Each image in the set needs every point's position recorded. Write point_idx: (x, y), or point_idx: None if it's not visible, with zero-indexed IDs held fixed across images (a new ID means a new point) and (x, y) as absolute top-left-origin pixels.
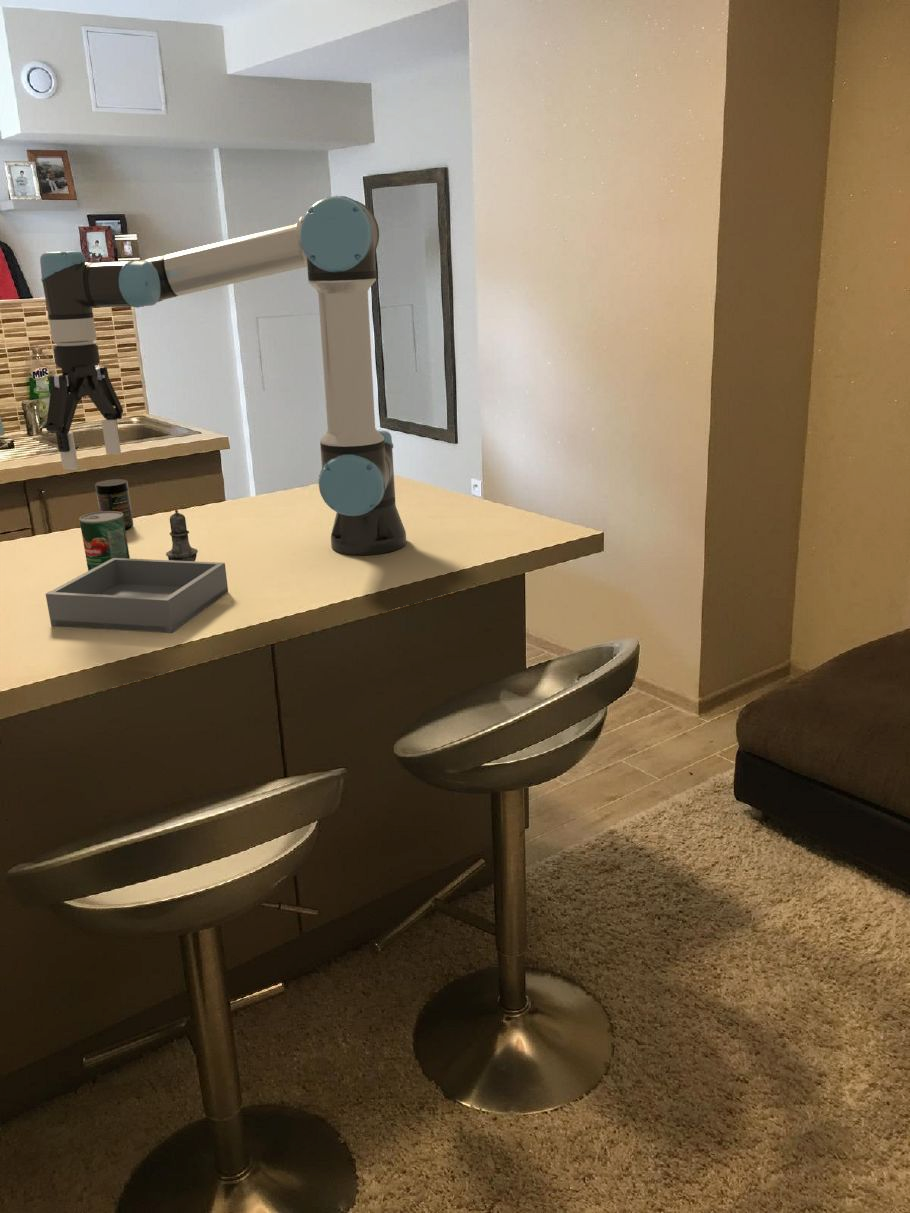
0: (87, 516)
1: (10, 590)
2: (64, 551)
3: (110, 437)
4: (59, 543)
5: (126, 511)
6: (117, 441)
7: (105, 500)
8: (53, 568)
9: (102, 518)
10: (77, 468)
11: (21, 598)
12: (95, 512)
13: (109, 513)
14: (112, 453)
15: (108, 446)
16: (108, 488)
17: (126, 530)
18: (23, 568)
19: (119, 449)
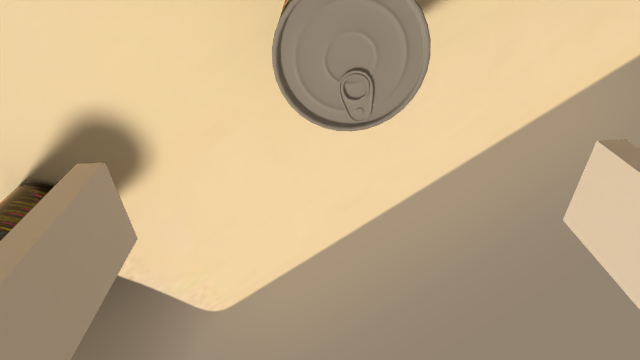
0: (350, 114)
1: (479, 152)
2: (229, 210)
3: (56, 296)
4: (189, 247)
5: (13, 209)
6: (44, 225)
7: None
8: (335, 162)
9: (362, 46)
10: (611, 142)
11: (533, 98)
12: (305, 115)
13: (290, 67)
14: (120, 207)
15: (107, 258)
16: None
17: (48, 185)
18: (345, 212)
19: (71, 182)
